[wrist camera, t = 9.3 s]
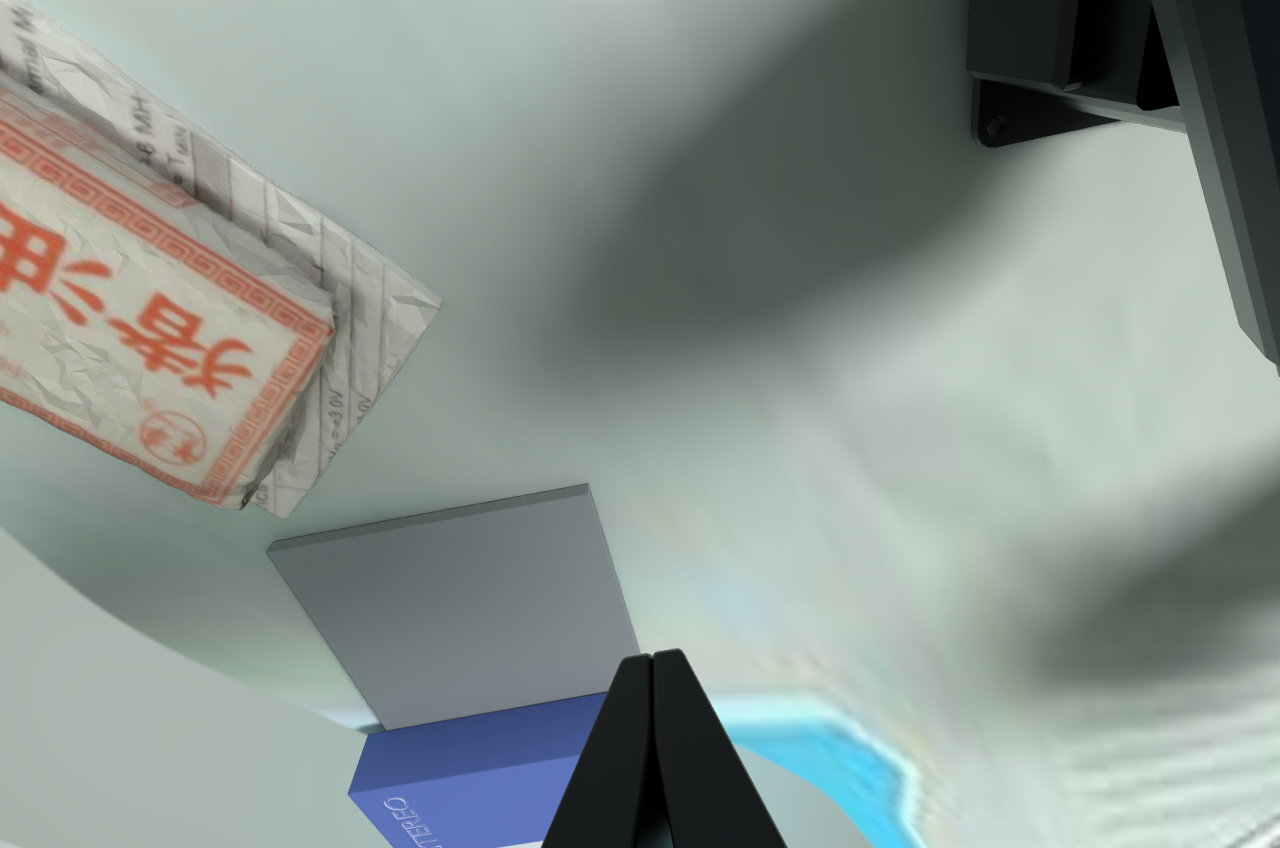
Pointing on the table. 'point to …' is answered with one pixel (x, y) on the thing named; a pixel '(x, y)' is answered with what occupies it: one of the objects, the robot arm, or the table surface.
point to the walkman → (474, 776)
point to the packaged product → (178, 286)
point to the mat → (467, 606)
